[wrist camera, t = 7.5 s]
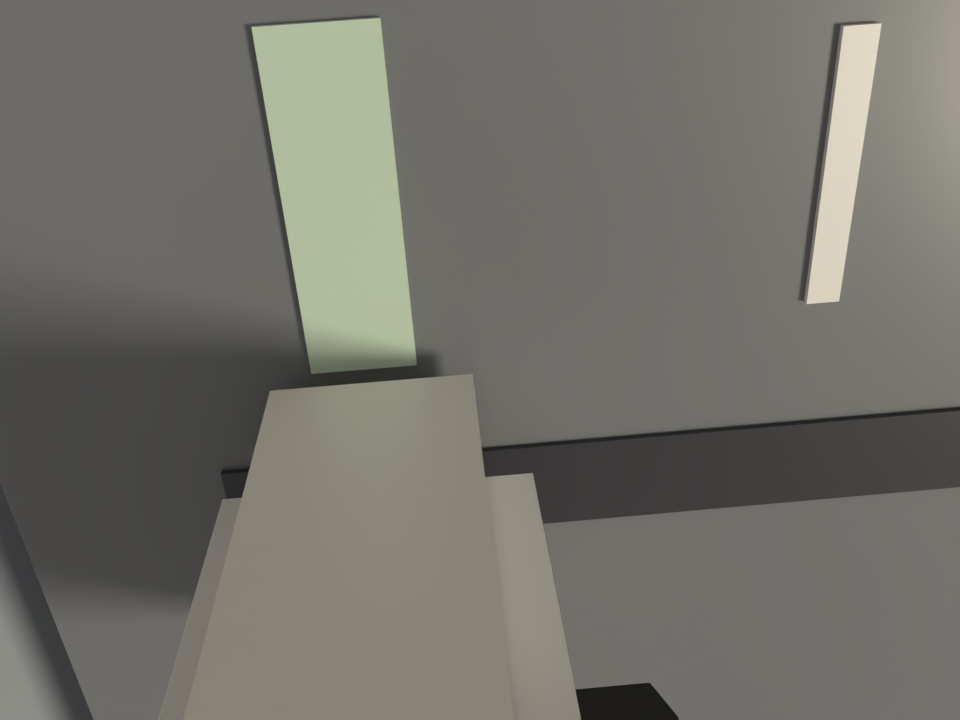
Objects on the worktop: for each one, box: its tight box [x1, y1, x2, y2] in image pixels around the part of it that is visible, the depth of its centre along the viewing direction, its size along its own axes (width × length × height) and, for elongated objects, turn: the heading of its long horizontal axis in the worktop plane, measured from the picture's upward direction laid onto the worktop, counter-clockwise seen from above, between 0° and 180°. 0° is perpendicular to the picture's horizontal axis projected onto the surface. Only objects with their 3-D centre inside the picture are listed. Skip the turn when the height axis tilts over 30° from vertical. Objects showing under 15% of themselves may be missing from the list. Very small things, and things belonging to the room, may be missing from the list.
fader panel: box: [0, 0, 960, 720], centre depth 16 cm, size 16×26×2 cm, turn 93°
